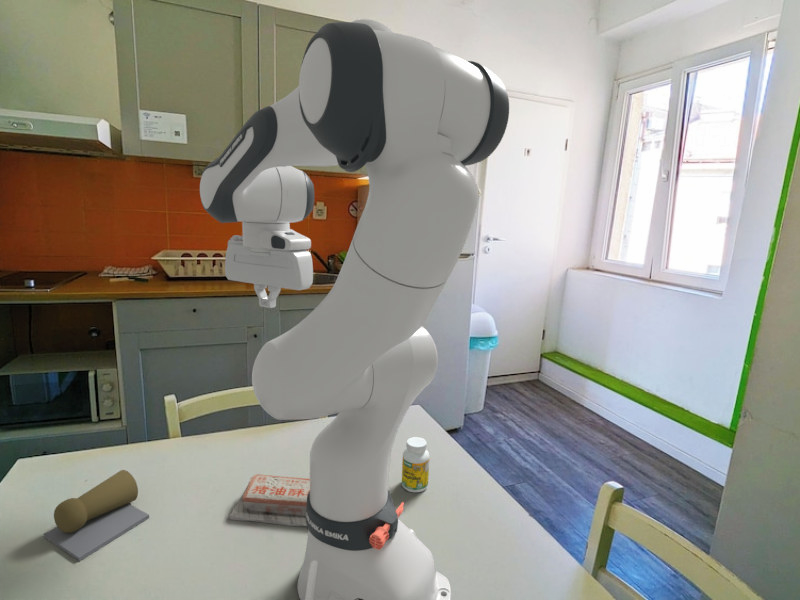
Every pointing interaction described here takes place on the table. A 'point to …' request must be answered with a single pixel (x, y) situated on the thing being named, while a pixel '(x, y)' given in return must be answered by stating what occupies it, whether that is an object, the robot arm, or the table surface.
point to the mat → (97, 531)
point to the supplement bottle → (415, 465)
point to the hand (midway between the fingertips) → (267, 306)
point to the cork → (96, 501)
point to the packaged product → (274, 500)
